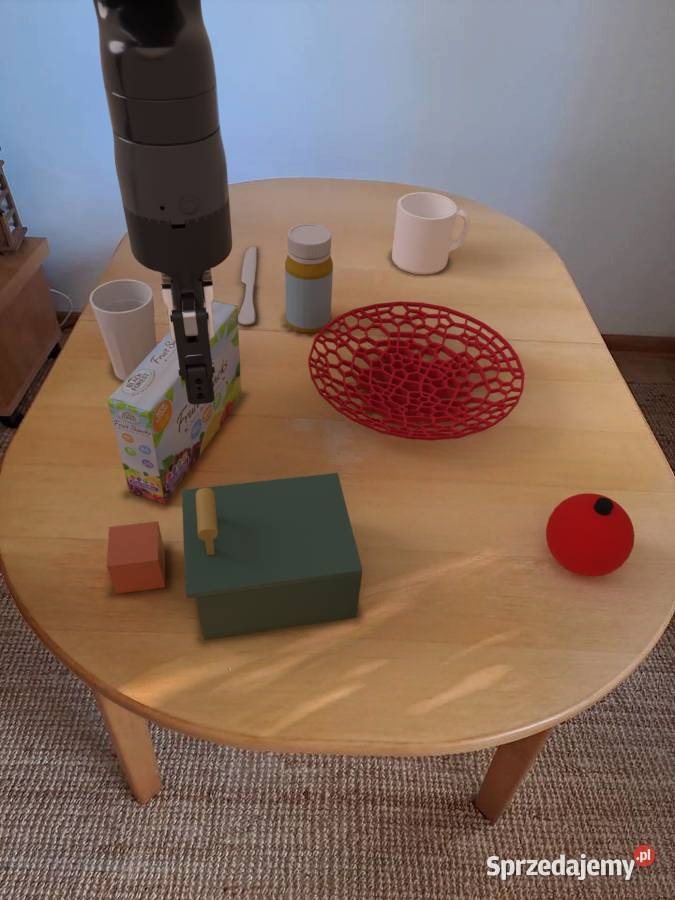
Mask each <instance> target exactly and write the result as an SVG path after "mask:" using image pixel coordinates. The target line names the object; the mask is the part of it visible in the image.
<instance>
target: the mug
mask: <svg viewBox="0 0 675 900" xmlns="http://www.w3.org/2000/svg"><path fill="white" fill-rule="evenodd" d="M457 217H460V218H462V219H463V228H462V230H461V233H460V235H459V237H458V238H457V239H456V240H455V241H454V242H452V240H453V233H454V228H455V222H456V218H457ZM470 223H471V219H470V214H469V213H468V212H467V211H466V210H464V209H458V206H457V204H456V203H455V202H454V200H452V199H451V198H449V197H447V196H445V195H443V194H439V193H435V192H428V191H414V192H411V193H406V194H404V195H402V196H401V197H400V198H399V199H398V201H397V205H396V215H395V224H394V233H393V242H392V250H391V260H392V262H393V263H394V265H395V266H396V267H397V268H398V269H400V270H402V271H404V272H407V273H409V274H415V275H425V276H426V275H433V274H437V273H439V272H441V271H443V270H444V269H445V268H446V267H447V264H448V261H449V256H450V252H453V251H455V250H457V249H458V248H459V247H460V246H461V245H462V244H464V241H465V239H466V237H467V234H468V232H469V229H470Z"/></svg>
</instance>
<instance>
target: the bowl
mask: <svg viewBox="0 0 675 900" xmlns="http://www.w3.org/2000/svg"><path fill="white" fill-rule="evenodd" d="M395 307H403V309H404V310H405V312H404V314H399V313H395V312H393V309H394V308H395ZM411 307H412V308H411ZM385 308H386V309H385ZM415 308H417V309H415ZM380 309H382V310H380ZM422 309H429V310H434V311H437V313H427V312H425V311H424V310H422ZM372 310H375V311H372ZM369 311H371V312H369ZM441 312H444V313H441ZM385 314H388V315H389V316H390V317H382V316H383V315H385ZM410 314H414V315H410ZM450 315H452V316H455V317H458V318H461V319H464V323H461V322H456V321H454V320H453V319H452V317H451V316H450ZM351 316H352V317H353V318H355V319H356V324H354V325H352V326H350V325H349V324H348V323H347V321H346V318H348V317H351ZM365 319H367V320H368V321H369V322H371V324H370V325H368V326H363V325H360V323H361V322H360V321H362V320H365ZM397 319H399V320H400V321H398V322H397V321H396V320H397ZM428 319H434V320H435V319H436V320H437V323H436V325H435V326H431V325H428V324H427V323H426V320H428ZM443 319H445V320H446V322H447V323H448V324H445V323H443V322H442V320H443ZM417 320H419V321H420V322H421V323H419V324H416V323H415V322H413V321H417ZM468 323H472V324H474V325H477V326H478V327H479V328H478V329H477V328H476V327H473V326H471V325H469V324H468ZM336 324H337V325H338V326H337V327H336V328H334V329H333V328H332V327H333V326H335V325H336ZM383 324H391V325H392V326H393V327H395V328H396V331H390V330H389V329H388V328H386V327H385V326H384V325H383ZM403 325H407V326H408V325H409V326H410V327H411V328H412V329H413V330H412V331H402V330H401V326H403ZM341 327H344V328H345V329H346V330H345V331H342V330H341ZM452 327H455V328H458V329H461V330H462V329H463V332H461V333H460V334H455V333H448V330H449V329H451V328H452ZM439 328H440V329H443V330H444V331H443V330H440V329H439ZM372 329H379V330H380V331H381V332H382V333H383V334H384V335H385V336H386V338H387V339H378V340H375V339H373V338H372V337H370V336H369V333H368V332H369V331H370V330H372ZM357 330H359V331H361V332H363V333H364V336H363V337H360V338H358V337H356V336H354V335H352V332H354V331H357ZM419 330H426V331H427V332H425V333H421V332H417V331H419ZM482 330H484V331H486V332H487V333H489V334H490V335H492V336H491V337H489V336H488V335H487V334H485V333H484V332H483V331H482ZM325 332H327V333H329V334H332V335H333V336H334V337H329V336H326V335H325V334H324V333H325ZM467 332H470V333H472V334H474V335H470V334H469V333H467ZM433 335H435V336H438V337H440V338H442V339H441V343H440V342H436V341H433V340H432V339H431V338H430V337H431V336H433ZM343 337H346V339H344V338H343ZM479 338H480V339H482V340H483V341H485V342H486V343H485V342H482V341H481V340H480V339H479ZM415 339H417V340H424V341H425V342H426V345H424V344H422V343H419V342H417V341H416V340H415ZM496 339H497V340H498V341H499V342H500V343H501V344H502V346H500V345H498V343H496V342H495V340H496ZM446 340H452V341H458V342H459V343H461V344H462V345H464V346H465V347H464V350H463V351H460V352H456V351H454V350H452V349H451V348H450V347H448V346H447V345H445V342H446ZM327 342H328V343H332V344H334V346H336V347H335V349H334V348H329V347H328V345H327V344H326V343H327ZM350 342H353V343H355V344H357V348H356V349H355V348H354V347H352V345H350ZM317 343H319V344H320V345H322V346H323V348H324V350H325V352H324V353H323V352H321V351H320V350H319V349H318V348H317V346H316V345H317ZM365 343H368V344H370V345H371V346H372V347H370V348H367V347H365V346H362V344H365ZM490 346H491V347H492V348H493V349H494V350H493V349H492V348H491V347H490ZM385 347H386V348H385ZM468 347H469V348H473V349H475V350H477V351H478V353H479V354H477V355H476V356H473V355H472V354H471V353H469V351H468ZM341 348H342V349H343V348H346V349H347V350H348V351H349V353H351V355H352V357H351V360H348V359H344V358H342V357H341V354H339V352H338V349H341ZM381 348H384V350H383V349H381ZM505 350H508V352H509V353H510V355H511V356H508V355H506V353H505V352H504V351H505ZM314 351H315V353H316V354H317V358H314V357H313V353H314ZM414 351H417V352H414ZM483 351H486V353H483ZM441 352H442V353H443V354H444V355H446V356H448V358H449V359H447V360H445V359H442V358H440V357H439V354H440V353H441ZM329 354H331V355H334V356H335V357H336V359H337V360H338V362H337V363H332V362H330V360H329V358H328V355H329ZM498 354H499V356H498ZM370 355H374V356H377V357H378V358H374V359H372V358H370V357H369V356H370ZM425 355H426V356H430V357H432V358H433V360H432V361H428V360H424V359H423V357H425ZM499 357H500V358H499ZM356 358H357V359H360V360H362V361H363V362H364V363H365V364H366V365H367V366H368V367H360V366H358V364H356V363H355V362H356ZM322 359H324V361H323V360H322ZM482 359H483V360H485V361H488V362H490V363H491V364H490V365H485V366H481V365H480V363H479V361H481V360H482ZM384 361H385V362H387V363H383V362H384ZM514 361H515V364H516V366H517V367H513V366H512V364H511V362H514ZM504 363H505V365H506V367H505V366H503V367H502V366H501V364H504ZM307 364H308V371H309V376H310V380H311V381H312V383H313V385H314V387H315V389H316V390H317V393H318V394H319V395H320V397H321V398H322V399H323V400H324V401H325V402H326V403H327V404H328V405H330V406H331V407H332V408H333V409H334V411H336V412H337V413H338V414H341V415H342V416H344V417H345V418H346V419H348V420H350V421H351V422H353V423H356V424H357V425H360V426H362V427H365V428H367V429H370V430H372V431H373V432H376V433H379V434H382V435H388V436H390V437H391V436H392V437H395V438H401V439H405V440H413V441H414V440H416V441H431V442H432V441H444V440H454V439H461V438H464V437H468V436H471V435H474V434H477V433H480V432H484V431H486V430H488V429H490V428H492V427H494V426H496V425H498V424H499V423H500V422H501V421H503V420H505V419H507V417H508V416H509V415H510V413H512V411H513V410H514V409H515V407H516V406H517V405H518V404H519V402H520V399H521V397H522V394H523V392H524V387H525V371H524V368H523V364H522V362H521V360H520V356H519V355H518V354H517V352H516V351H515V349H514V348H513V346H512V345H511V344H510V342H509V341H508V340H506V338H504V337H503V335H501V334H500V333H499V332H498V331H497V330H495V329H494V328H492V327H491V326H489V325H488V324H486V323H485V322H483V321H481V320H479V319H477V318H475V317H473V316H471V315H469V314H466V313H464V312H462V311H458V310H455V309H453V308H450V307H446V306H443V305H437V304H431V303H428V302H419V301H418V302H417V301H400V300H399V301H391V302H382V303H381V302H380V303H374V304H369V305H365V306H361V307H357V308H354V309H350V310H349V311H346V312H344V313H342V314H340V315H338V316H336V317H335V318H334V319H332V320H330V323H328V324H327V325H325V326H324V327H323V329H322V330H321V331H320V332H317V333H316V336H315V337H314V338H313V342H312V345H311V349H310V352H309V355H308V359H307ZM318 364H319V365H320V366H319V365H318ZM342 366H345V367H347V368H349V370H343V369H342V368H341V367H342ZM313 369H314V370H315V372H316V373H314V372H313ZM330 369H334V370H336V371H337V372H338V373H339V374H340V375H341V377H342V379H339V378H336V377H334V376H333V375H332V373H331V371H330ZM491 371H492V372H496V374H495V376H492V377H489V378H487V376H486V374H485V373H487V372H491ZM500 373H509V374H510V375H511V376H512V378H511V379H510V381H503V380H502V379H501V378H500V377H499V375H500ZM516 373H517V374H516ZM471 374H478V375H479V377H480V380H479V381H476V382H473V381H471V380H469V376H471ZM350 377H351V378H352V379H353V380H354V381H355V382H356V384H351V383H349V382H346V379H347V378H350ZM457 377H459V378H461V379H464V380H460V379H458V378H457ZM324 378H325V379H326V380H328V381H329V382H327V381H325V379H324ZM377 379H378V380H377ZM316 380H319V382H321V384H322V385H323V388H321V387H320V386H319V384H318V383H317V381H316ZM379 380H381V381H379ZM515 380H520V387H517V386H514V381H515ZM493 383H497V385H498V386H499V387H495V388H492V387H491V385H490V384H493ZM335 384H336V385H338V386H340V387H342V388H343V390H340V389H339V388H338V387H337V386H336V385H335ZM482 387H484V388H485V391H486V394H485V395H484V396H483V397H478V396H473V395H472V393H473V391H474V390H476V389H479V388H482ZM503 387H505V388H506V387H509V389H508V390H505V389H503ZM327 388H331V389H332V390H333V391H334V392H335V393H336V394H331V393H330V392H329V391H328V390H327ZM465 388H468V389H465ZM360 390H362V391H365V392H368V394H367V393H361V392H360ZM511 392H512V393H518V394H517V395H511V396H508V395H509V394H511ZM498 393H499V394H500V395H503V396H504V397H503V398H501V399H499V400H496V401H493V400H490V399H488V398H489V397H490V396H491V395H492V394H498ZM342 397H346V398H347V399H343V398H342ZM442 397H449V398H442ZM459 398H465V399H459ZM353 399H355V400H358V401H359V402H361V403H362V404H363V405H361V404H359V403H358V402H355V401H354V400H353ZM507 402H509V403H507ZM336 404H337V405H339V406H337V405H336ZM470 404H478V405H473V406H472V407H469V406H468V405H470ZM349 405H351V406H352V407H355V408H352V407H351V406H349ZM484 405H486V407H484ZM508 408H509V409H508ZM506 409H508V410H507V411H505V410H506ZM366 412H367V413H366ZM473 412H476V413H474V414H472V413H473ZM498 412H499V413H498ZM368 413H373V414H375V415H377V416H380V417H383V418H379V417H374V416H371V415H369V414H368ZM496 413H498V414H496ZM484 414H485V415H488V416H487V417H485V418H482V417H480V416H482V415H484ZM495 414H496V415H495ZM491 420H494V421H491ZM472 421H473V422H472ZM449 422H450V423H452V424H444V425H443V424H442V423H449ZM418 423H420V424H418ZM421 423H422V424H421ZM390 424H393V425H390ZM394 425H397V426H394ZM482 425H485V426H482ZM459 426H462V427H464V428H460V429H456V428H457V427H459Z"/></svg>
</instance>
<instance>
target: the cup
mask: <svg viewBox="0 0 675 900" xmlns="http://www.w3.org/2000/svg"><path fill="white" fill-rule="evenodd" d="M89 303H90V306H91V308H92V311H93V314H94V317H95V319H96V321H97V325H98V327H99V330H100V333H101V336H102V339H103V342H104V345H105V348H106V351H107V353H108V357H109V360H110V362H111V364H112V365H111V366H112V368H113V373H114V375H115V377H116V378H118V379H119V380H121V381H123V382H124V381H125V380H126V379H127V378H128V377H129V376H130V375H131V374H132V373H133V371H134V370H135V369H136V368H137V367H138V366H139V365H140V364H141V363H142V362H143V360H144V359H145V358H146V357H147V356H148V355H149V354H150V353H151V352H152V351H153V349H154V348H155V347H156V346H157V345H158V344H157V334H156V333H157V332H156V322H155V302H154V291H153V289H152V287H151V286H150V285H148V284H147V283H146V282H143V281H141V280H137V279H128V278H123V279H113V280H111V281H107V282H105V283H103V284H99V286H97V287H95V289H93V291H92V292H91V293H90V295H89Z"/></svg>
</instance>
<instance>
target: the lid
mask: <svg viewBox="0 0 675 900" xmlns="http://www.w3.org/2000/svg"><path fill="white" fill-rule="evenodd" d="M181 506H182V531H183V532H182V535H183V560H184V562H183V563H184V587H185V588H184V589H185V597H186V599H196V597H203V596H210V595H217V594H225V593H232V592H239V591H247V590H254V589H261V588H269V587H276V586H283V585H291V584H298V583H305V582H312V581H320V580H327V579H334V578H342V577H349V576H356V575H362V576H363V566H362V563H361V558H360V554H359V550H358V547H357V543H356V539H355V535H354V531H353V527H352V523H351V520H350V515H349V512H348V507H347V503H346V499H345V496H344V492H343V488H342V484H341V479H340V476H339V472H331V473H330V472H329V473H321V474H313V475H312V474H311V475H303V476H295V477H294V476H293V477H285V478H276V479H266V480H258V481H249V482H239V483H232V484H231V483H230V484H222V485H212V486H204V487H193V488H185V489H181Z"/></svg>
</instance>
